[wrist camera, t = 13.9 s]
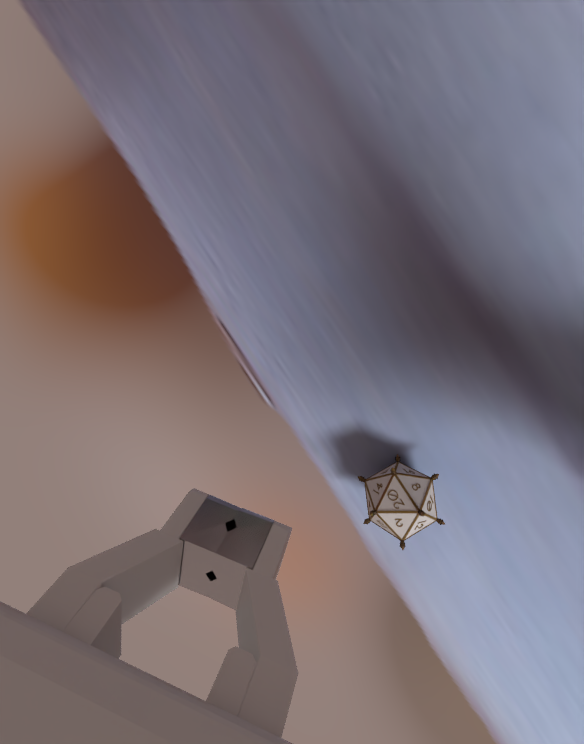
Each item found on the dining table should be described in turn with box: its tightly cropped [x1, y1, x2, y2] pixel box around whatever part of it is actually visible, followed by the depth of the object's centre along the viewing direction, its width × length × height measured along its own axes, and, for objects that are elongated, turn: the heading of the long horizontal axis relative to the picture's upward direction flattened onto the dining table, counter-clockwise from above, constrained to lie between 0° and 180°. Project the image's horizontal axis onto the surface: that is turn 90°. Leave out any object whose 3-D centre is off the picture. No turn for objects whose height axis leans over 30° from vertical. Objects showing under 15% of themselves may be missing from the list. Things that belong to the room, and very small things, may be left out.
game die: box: [358, 454, 445, 550], centre depth 45 cm, size 9×8×10 cm
